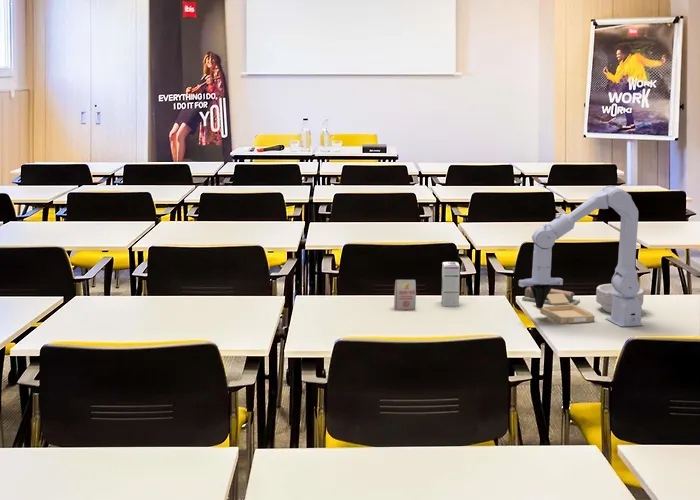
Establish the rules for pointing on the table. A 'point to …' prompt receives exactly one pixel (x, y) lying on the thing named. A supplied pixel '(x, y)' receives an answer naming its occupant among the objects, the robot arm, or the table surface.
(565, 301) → the far flap
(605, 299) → the paper bowls
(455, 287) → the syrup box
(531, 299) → the packaged product
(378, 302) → the table surface
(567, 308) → the carton
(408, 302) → the white food box
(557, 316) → the left flap
